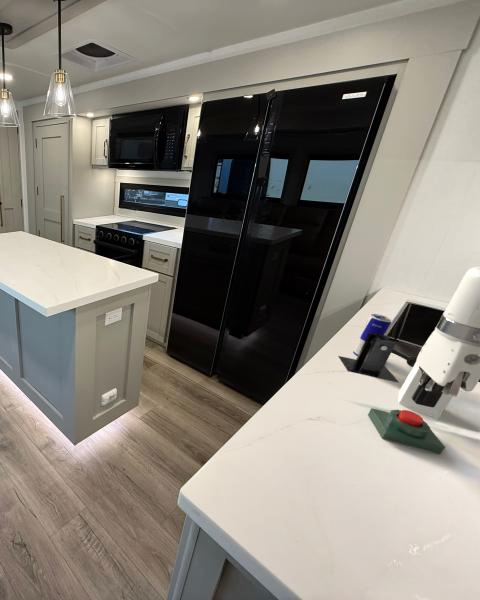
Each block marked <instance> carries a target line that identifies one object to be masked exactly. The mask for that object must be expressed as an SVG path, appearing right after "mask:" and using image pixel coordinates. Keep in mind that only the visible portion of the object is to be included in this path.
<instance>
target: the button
mask: <svg viewBox="0 0 480 600" xmlns="http://www.w3.org/2000/svg"><path fill="white" fill-rule="evenodd" d="M398 418H399V419H400V420H401V421H402V422H404V423H406V424H408V425H410V426H413V427H417V428H418V427H420V425H421V424H422V422H423V421H424V418H423V417H422V416H421V415H419V414H418V413H416V412H414V411H411V410H407V409H402V410H401V412H400V414H399V416H398Z"/></svg>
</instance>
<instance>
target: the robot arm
mask: <svg viewBox="0 0 480 600" xmlns="http://www.w3.org/2000/svg"><path fill="white" fill-rule="evenodd" d="M416 357H417V360H416V361H417V364H418V365H419V368H420V370H421V373H422V375H421V378H420V380H419V384H421V385H419V386H418V388H417V389H416V391H415V393H414V395H413V396H412V400H413V401H414V402H415V403H416V404H419V405H423V406H428V407H435V405H436V404H437V402H438V401H439V399H440V397H441V396H442V394H446V395H450V396H453V397H456V398H457V397H458V394H459V392H460V389H462V390H463V391H465V392H472V391H473V390H474V389H475V387H476V386H477V385H478V383H479V381H480V266H473V267H471V268H469V269H468V270H467V271H466V272H465V274H464V275H463V276H462V279H461V281H460V283H459V284H458V286H457V288H456V290H455V291H454V293H453V296H452V297H451V299H450V301H449V302H448V304H447V306H446V308H445V310H444V312H443V313H442V315H441V317H440V319H439V321H438V322H437V325H436V326H435V328H434V330H433V331H432V332H431V334H430V335H429V336H428V338H427V340H426V341H425V343H424V344H423V346H422V347H421V349H420V351H419V353H418V355H417V356H416Z"/></svg>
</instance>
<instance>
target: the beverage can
mask: <svg viewBox="0 0 480 600" xmlns="http://www.w3.org/2000/svg"><path fill="white" fill-rule="evenodd" d="M392 322H393V319H392V318H391V317H388V316H386V315H384V314H377V313H371V314H370V316H369V318H368V319H367V321H366V324H365V326H364V328H363V330H362V332H361V334H360V336H359V338H358V341H357V342H356V345H355V347H354V349H353V351H352V353H353V354H354V355H355V356H356V357H358V355H359V353H360V351H361V348H362V346H363V344H364V342H365V340H366V338H367V336H368V334H369V333H375V334H380V335H386V334H387V333H388V331H389V329H390V328H391V325H392ZM386 336H387V335H386Z"/></svg>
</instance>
